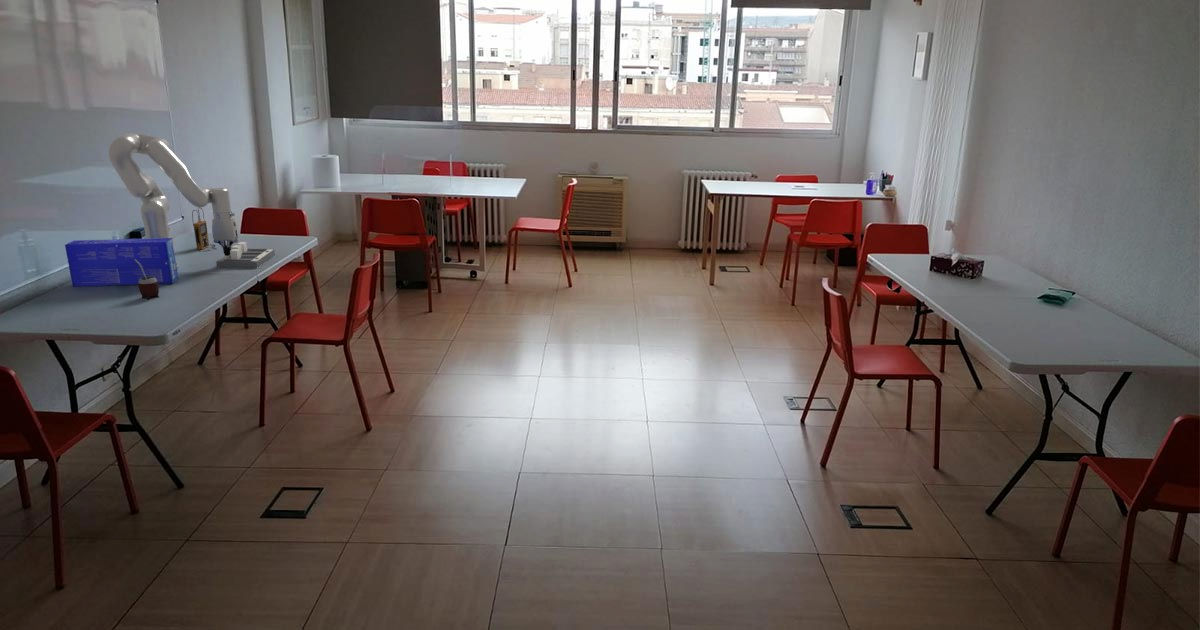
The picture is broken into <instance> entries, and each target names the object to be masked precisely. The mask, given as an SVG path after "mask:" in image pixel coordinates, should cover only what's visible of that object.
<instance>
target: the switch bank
mask: <svg viewBox="0 0 1200 630" xmlns="http://www.w3.org/2000/svg"><path fill="white" fill-rule="evenodd" d="M247 249H248V250H247V251H246V252H242V254H241V258H239V259H231V255H229V256H225V255H224V256H223V257H221V258H220V259H218V260H216V261H215V264H216V268H217V267H218V268H219V269H258V268H260V267H261V266H262V265H264V264H265V263H267V262H268V261H269V260H271V259H272V258H273V256H274V257H275V255H276V254H275V253H276V252H275V249H271V248H270V249H268V248H247ZM270 258H271V259H270ZM267 260H268V261H267ZM266 261H267V262H266ZM264 262H265V263H264ZM263 263H264V264H263ZM261 264H262V265H261ZM260 265H261V266H260ZM259 266H260V267H259ZM257 267H258V268H257ZM218 268H217V269H218Z"/></svg>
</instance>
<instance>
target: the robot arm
mask: <svg viewBox="0 0 1200 630" xmlns="http://www.w3.org/2000/svg"><path fill="white" fill-rule="evenodd" d="M171 148H172V147H171V145H170V143H169V141H168V140H166V139H164V138H162V137H157V136H152V135H147V134H140V133H137V132H136V133H135V132H134V133H133V132H126V133H124V134H120V135H119V136H117V137H115V139H114V140H113V141H112V142H111V144H110V146H109V148H108V158H109V162H110V163H111V166H112V168H114V170H115V171H116V173H117V175H118V176H119V177H120V179H121V181H122V182H123V183H124V185H125V187H126V189H127V191H128V192H129V193H130V195H132V196H133V197H134V198H137V199H140V200H141V202H142V205H141V207H140V216H141V219H142V223H143V228H144V233H145V239H151V238H171V233H170V227H169V226H170V225H169V221H168V217H167V214H168V212H169V211H170V203H169V200H168V199H167V196H166V195H165V194H164V193H163V191H162V189H161V188H160V186H159V185H158V183H157V181H156V180H155V179H154V178H153V177H152V176H151V175H149V174H147V173H143V172H142V170H141V168H140V167H139V165H138V163H137V162H136V161H135V160H134V158H133V154H140V155H146V156H149V159H151V160H152V161H153V162H154V163H155V164H156V165H157V167H159V168H160V170H162V172H163V173H164V174H165V175H166V176H167V177H168V178H169V179H170V181H171V182H172V184H173V185H174V186H175V188H176V189H177V190H178V191H179V193H180V194H181V195H182V196H183V197H184V198H185V199H186V200H187V201H188V202H189V203H190V204H191V205H192V206H193V207H195V208H198V209H201V208H205V207H206V206H207V205H208V204H211V207H212V208H211V209H212V215H213V216H212V217H213V218H212V221H211V233H212V238H213V243H215V244H219V245H220V246H221V248H222V251H223V254H224V256H229V255H230V251H231V250H232V248H231V247H233V244H236V243H237V244H238V243H239V231H238V227H237V223H236V219H235V212H232V209H231V208H232V207H231V201H230V194H229V190H228V188H227V187H215V188H211V187H210V188H209V187H199V186H198V184H197V183H196V182H195V181H194V180H193V179H192V177H191V175H190V173H189V171H188V167H187V166H186V165H185V163H184V162H182V160H181V159H180V158H179V157H178V155H176V154H175V153H174V152H173V150H172V149H171ZM176 265H177V269H178V268H179V264H178V263H176Z"/></svg>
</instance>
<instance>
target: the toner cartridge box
mask: <svg viewBox="0 0 1200 630" xmlns="http://www.w3.org/2000/svg"><path fill="white" fill-rule="evenodd" d="M173 240H174V239H173V237H170V238H151V239H146V238H124V239H123V238H120V239H117V238H114V239H85V240H80V239H79V240H72V241H69V242H68V243H66V244H64V246H65V247H64V249H65V253H66V257H67V263H68V268H69V274H70V279H71V284H72V287H74V288H82V287H112V286H119V287H120V286H121V287H122V286H138V282H139V280H140V278H143V277H144V275H143V272H142V270H141V268H140V266H139V264H138V263H137V262H136V261H135V259H136V260H137V261H138V262H139V263H140V264H141V265H142V268H143V271H144V273H145V275H146V277H155V278H156V279H157V281H158V284H159V285H161V284H162V285H165V284H166V285H167V284H168V285H169V284H170V285H171V284H174V283H176V282H177V281H178V280H179V275H178V274H179V273H178V268H177V265H176V264H177V262H176V253H175V247H174V241H173Z"/></svg>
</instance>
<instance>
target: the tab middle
mask: <svg viewBox="0 0 1200 630" xmlns="http://www.w3.org/2000/svg"><path fill="white" fill-rule="evenodd" d="M232 249H240V253H241V254H242V248H241V245H237V244H236V245H232V246H231V250H232Z"/></svg>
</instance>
